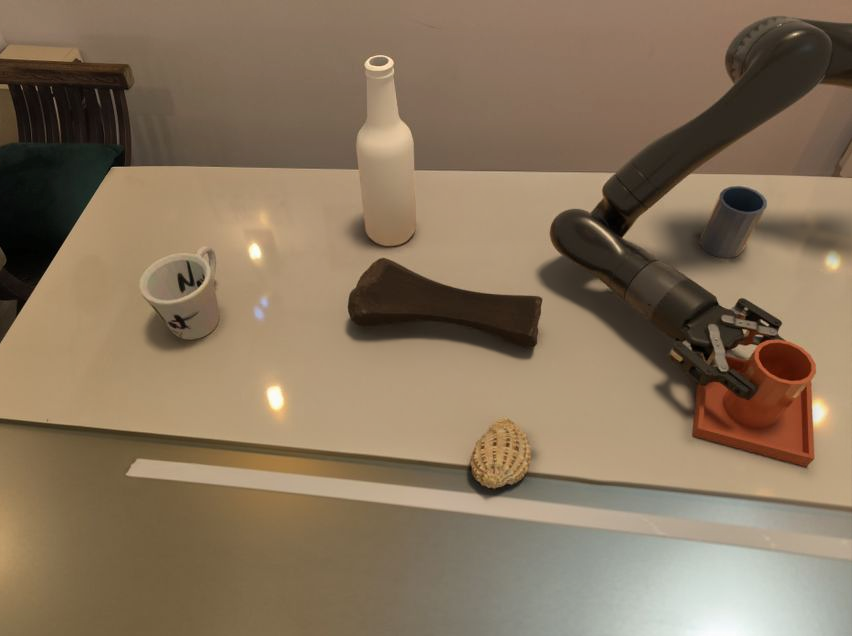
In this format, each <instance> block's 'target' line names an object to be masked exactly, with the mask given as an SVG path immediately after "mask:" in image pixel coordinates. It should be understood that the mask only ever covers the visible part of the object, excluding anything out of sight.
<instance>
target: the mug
mask: <svg viewBox="0 0 852 636" xmlns="http://www.w3.org/2000/svg"><path fill="white" fill-rule="evenodd" d="M206 254H207V257H208V261H207V260H206V259H205V258H203V257H204V256H205V255H206ZM216 271H217V256H216V252H215V250H213V248H211V246H209V245H204V246H201V247H200V248H199V249H197V251H196V252H195V253H188V252H180V253H179V252H178V253H173V254H170V255H166V256H163V257H161V258H159V259H158V260H156V261H154V262H153V263H151V264H150V265H149V266H148V267H147V268H146V269H145V270H144V271H143V273H142V275H141V277H140V279H139V284H138V285H139V286H138V288H139V292H140V294H141V297H143V299H144V300H145V301H146V303H148V305H149V307H151V308H152V309H153V311H154V312H155V313H156V314H157V315H158V317H159V318H160V319H161V320H162V322H163V323H165V325H166V327H168V328H169V330H170V331H171V333H173V334H174V335H175V337H177V338H180V339H182V340H190V341H191V340H198V339H201V338H204V337H206V336H207V335H209V334H210V333H212V332H213V331H214V330H215V329H216V327H217V326H218V325H219V321H220V309H219V305H218V298H217V294H216V288H215V277H216Z"/></svg>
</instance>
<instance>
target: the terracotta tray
mask: <svg viewBox="0 0 852 636" xmlns="http://www.w3.org/2000/svg"><path fill="white" fill-rule="evenodd" d="M700 358H701V359H702V360H703V358H702V355H700ZM725 358H726V361H727V364H728V367H729V370H731V369H732V368H733V369H734V370H735V371H737V372H738V373H740V371H741V370H742V368H743V367H744V365H745V364H746V362H747V361H748V359H744V358H739V357H735V356H731V355H727V354H726V355H725ZM696 383H697V382H696ZM727 390H728V389H727V388H726V387H725V386H724V385H722V384H721V383H717V382H711V383H708V384H707V385H706V386H701V385H699V384H698V383H697V384H696V396H695V405H694V416H693V427H692V437H694V438H698V439H703V440H705V441H710V442H713V443H717V444H721V445H725V446H728V447H732V448H736V449H739V450H744V451H746V452H751V453H754V454H758V455H761V456H766V457H769V458H773V459H776V460H780V461H784V462H788V463H791V464H794V465H799V466H802V467H808V466H809V465H810V464H811V463H812V462H813V461H815V441H814V418H813V414H814V413H813V391H812V380H811V381H810V382H809V383H808V385H807V386H806V387H805V388H804V389H803V391H802V392H801V393H800V394H799V395H798V396H797V398H796V399H795V400H794V401H793V402H792V403H791V405H790V406H789V407H788V408H787V409H786V410H785V412H784V413H783V414H782V415H781V416H780V418H779V419H778V420H777V421H776V422H775V423H774V424H772V425H771V426H769V427H766V428H751V427H748V426H745V425H742V424H740V423H739V422H737V421H736V420H734V419H733V418H732V417H731V416H730V415H729V414H728V412H727V411H726V409H725V407H724V403H723V399H724V395H725V393H726V392H727Z"/></svg>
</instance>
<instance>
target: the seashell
mask: <svg viewBox="0 0 852 636" xmlns="http://www.w3.org/2000/svg"><path fill="white" fill-rule="evenodd" d="M531 452H532V451H531V445H530V442H529V439H528V436H527V435H526V433H525V431H524V430H522V429H521V428H520V427H519V426H518V425H516V423H515V422H514V421H513V420H512V419H510V418H507V417H503V418H502V419H499V420H496V421H495V422H493V423H492V425H491V426H489V428H488V430H487V431H486V433H484V434H483V435H482V436H481V438H480V439H479V440H477V441H476V442H475V444H474V449H473V451H472V453H471V456H470V467H471V474H472V476H473V477H474V479H475V480H476V481H477V482H479V483H480V485H481V486H484V487H487V489H489V488H490V489H491V488H492V489H493V490H495V489H497V488H502V487H504V486H505V485H511V486H512V485H514V484H517V483H519V482H520V481H521V480H523V479H524V477H525V476H526V475H527V472H528V470H529V468H530V464H531V455H532V453H531Z"/></svg>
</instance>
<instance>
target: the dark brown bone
mask: <svg viewBox="0 0 852 636" xmlns="http://www.w3.org/2000/svg"><path fill="white" fill-rule="evenodd" d="M542 304H543V297H541V296H539V295H521V294H499V293H498V294H497V293H487V292H479V291H473V290H466V289H463V288H459V287H454V286H450V285H448V284H444V283H441V282H438V281H435V280H433V279H430V278H428V277H425V276H423V275H421V274H419V273H417V272H415V271H413V270H411V269H409V268H407V267H406V266H404V265H401V264H400V263H398V262H396V261H394V260H391V259H389V258H387V257H380V258H378V259H377V260H375V261H373V262H372V263H371V265H369V267H368V268H367V269H366V270H365V271H364V272H363V273H362V274H361V276H360V277H359V279H358V280H357V283H356V286H355V287H354V288H353V289H352V290H351V291H350V292H349V296H348V302H347V312H348V315H349V318H350V320H351V322H353V323H354V324H355V325H356V326H359V327H372V326H373V327H374V326H380V325H386V324H394V323H400V322H438V323H444V324H445V323H446V324H452V325H457V326H462V327H467V328H471V329H474V330H477V331H481V332H484V333H488V334H490V335H493V336H496V337H498V338H501V339H503V340H506V341H509V342H511V343H513V344H515V345H518V346H521V347H523V348H527V349H533V348H535V347H536V346H537V344H538V335H539V321H540V319H541V315H542Z"/></svg>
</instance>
